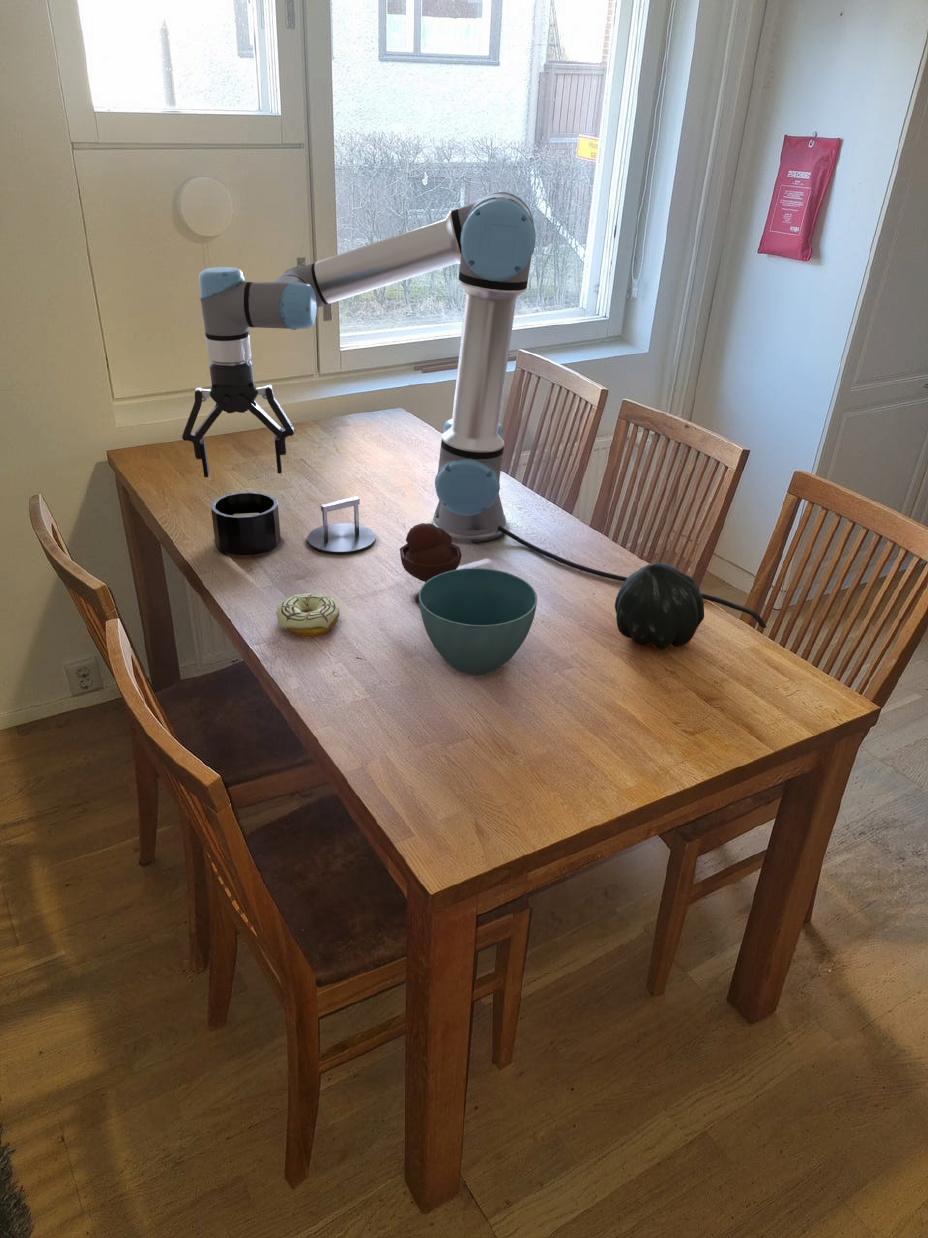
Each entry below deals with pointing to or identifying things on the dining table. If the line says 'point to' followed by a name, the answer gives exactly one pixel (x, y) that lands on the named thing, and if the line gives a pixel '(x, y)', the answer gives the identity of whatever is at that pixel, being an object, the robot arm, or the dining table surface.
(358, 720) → the dining table surface
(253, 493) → the pot
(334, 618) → the decorated donut
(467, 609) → the teal bowl
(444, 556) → the ice cream bowl
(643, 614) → the squash
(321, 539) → the lid
